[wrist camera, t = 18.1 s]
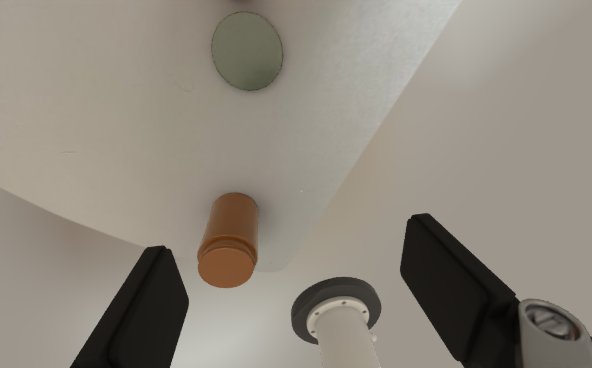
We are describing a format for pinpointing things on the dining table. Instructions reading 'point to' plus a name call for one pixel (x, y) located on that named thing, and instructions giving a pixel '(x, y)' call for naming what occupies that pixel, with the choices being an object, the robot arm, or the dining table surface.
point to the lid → (247, 51)
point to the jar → (229, 242)
